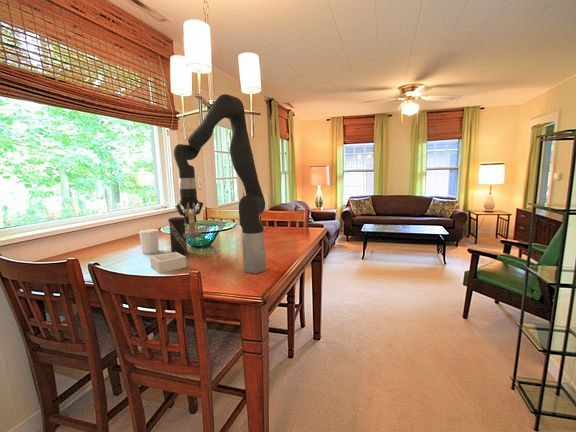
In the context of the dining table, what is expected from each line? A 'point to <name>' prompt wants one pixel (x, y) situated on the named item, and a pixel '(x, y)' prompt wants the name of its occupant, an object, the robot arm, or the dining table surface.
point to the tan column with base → (191, 227)
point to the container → (177, 235)
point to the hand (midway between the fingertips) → (190, 223)
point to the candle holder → (149, 240)
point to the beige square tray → (168, 262)
